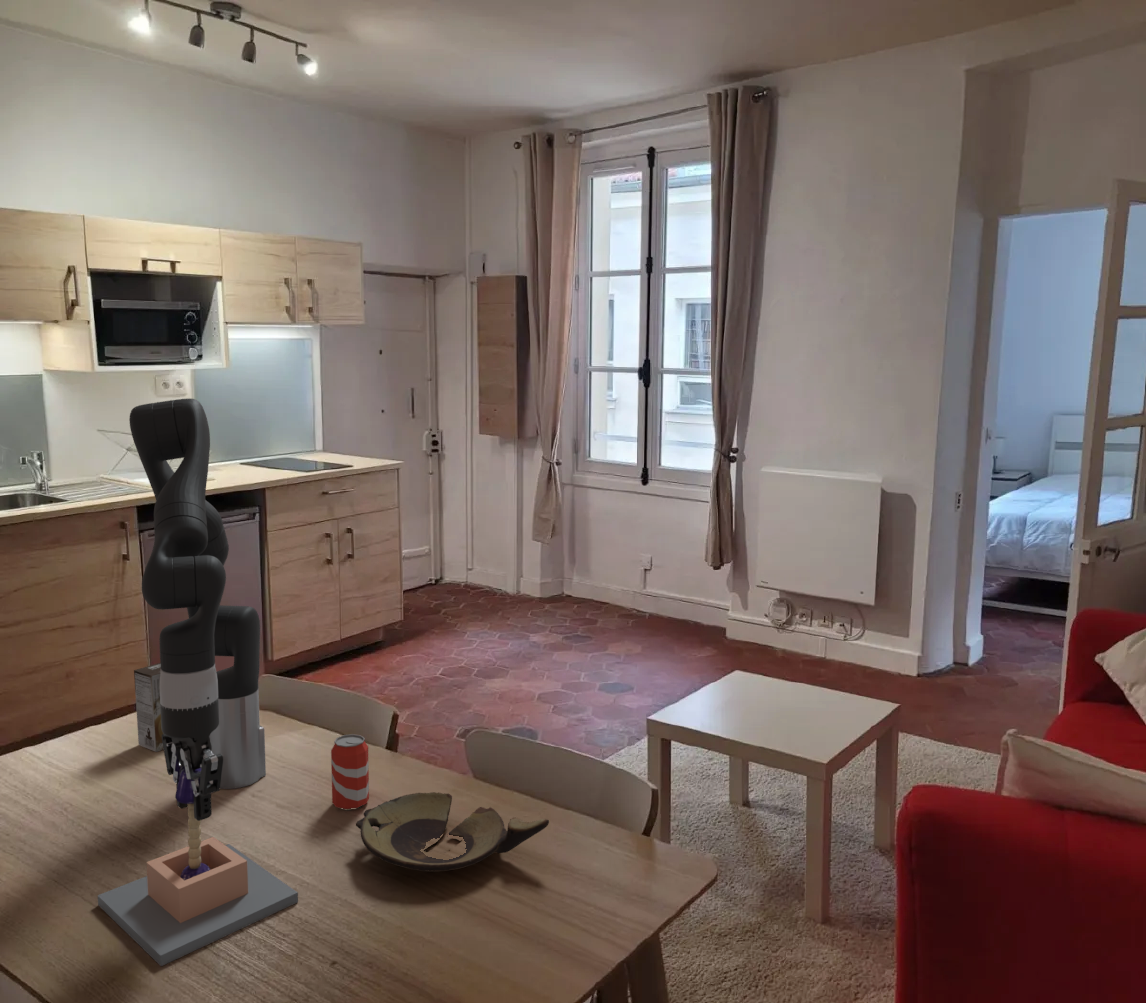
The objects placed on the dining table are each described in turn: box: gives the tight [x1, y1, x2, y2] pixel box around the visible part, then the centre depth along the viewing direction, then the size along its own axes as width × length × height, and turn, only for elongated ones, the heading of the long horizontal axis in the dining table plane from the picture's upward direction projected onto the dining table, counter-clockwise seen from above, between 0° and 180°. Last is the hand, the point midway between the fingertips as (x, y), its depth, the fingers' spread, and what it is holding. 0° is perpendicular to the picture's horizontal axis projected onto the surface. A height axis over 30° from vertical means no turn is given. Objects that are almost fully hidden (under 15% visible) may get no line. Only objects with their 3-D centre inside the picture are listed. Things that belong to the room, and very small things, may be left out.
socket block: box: [97, 836, 299, 967], centre depth 133 cm, size 20×20×6 cm
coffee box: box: [133, 662, 164, 753], centre depth 189 cm, size 9×6×16 cm
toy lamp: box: [174, 768, 210, 881], centre depth 132 cm, size 5×5×17 cm
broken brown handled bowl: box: [355, 791, 550, 872], centre depth 147 cm, size 22×30×8 cm
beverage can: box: [330, 733, 370, 810], centre depth 164 cm, size 6×6×12 cm
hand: (194, 811), depth 131 cm, fingers closed on toy lamp, 4 cm apart
